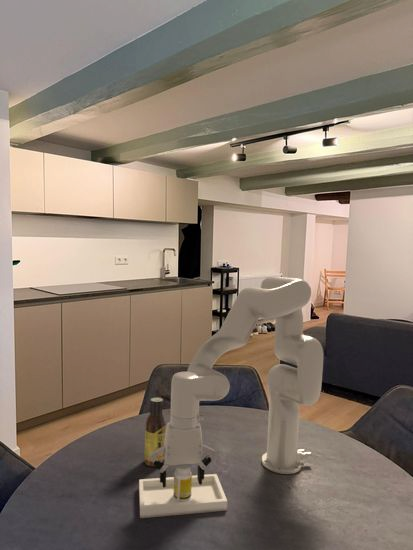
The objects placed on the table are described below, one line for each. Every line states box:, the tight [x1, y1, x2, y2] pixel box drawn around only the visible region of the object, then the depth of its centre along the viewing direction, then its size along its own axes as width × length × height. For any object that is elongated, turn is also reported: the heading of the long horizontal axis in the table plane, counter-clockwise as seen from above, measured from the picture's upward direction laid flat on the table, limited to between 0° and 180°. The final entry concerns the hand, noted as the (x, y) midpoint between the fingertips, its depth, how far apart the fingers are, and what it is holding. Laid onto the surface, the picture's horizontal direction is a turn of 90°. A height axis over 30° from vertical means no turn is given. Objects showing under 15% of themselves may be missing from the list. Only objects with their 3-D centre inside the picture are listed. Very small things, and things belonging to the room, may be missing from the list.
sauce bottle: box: [143, 397, 167, 468], centre depth 120 cm, size 7×6×20 cm
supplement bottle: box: [173, 464, 193, 501], centre depth 102 cm, size 5×5×8 cm
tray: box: [138, 473, 228, 519], centre depth 102 cm, size 22×12×2 cm, turn 101°
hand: (181, 483), depth 102 cm, fingers open, 9 cm apart
